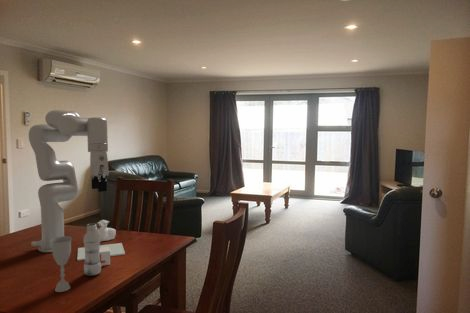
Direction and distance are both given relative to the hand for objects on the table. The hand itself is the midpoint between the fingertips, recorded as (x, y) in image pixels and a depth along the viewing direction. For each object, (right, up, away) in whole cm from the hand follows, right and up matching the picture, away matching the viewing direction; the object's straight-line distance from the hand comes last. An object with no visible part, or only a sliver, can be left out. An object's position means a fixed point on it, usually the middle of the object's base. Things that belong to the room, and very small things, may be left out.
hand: (99, 189), depth 136 cm
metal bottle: (-1, -33, -4) cm, 34 cm away
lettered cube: (-2, -32, +7) cm, 33 cm away
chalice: (-6, -34, -16) cm, 38 cm away
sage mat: (-8, -31, +21) cm, 39 cm away
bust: (-14, -30, +39) cm, 51 cm away
